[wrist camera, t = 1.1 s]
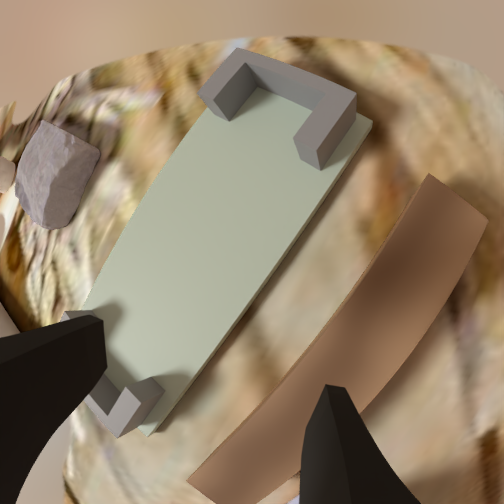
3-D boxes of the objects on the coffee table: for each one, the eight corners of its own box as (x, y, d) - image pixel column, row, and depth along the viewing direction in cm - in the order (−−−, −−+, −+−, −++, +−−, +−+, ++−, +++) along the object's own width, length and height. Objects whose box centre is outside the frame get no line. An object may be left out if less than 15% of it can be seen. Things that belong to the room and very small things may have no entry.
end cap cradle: (371, 128, 18) (376, 95, 14) (153, 432, 20) (124, 451, 16) (247, 71, 21) (230, 40, 18) (74, 342, 23) (41, 346, 20)
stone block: (79, 240, 27) (109, 144, 25) (40, 241, 23) (69, 134, 20) (39, 198, 31) (62, 122, 29) (8, 197, 27) (30, 115, 24)
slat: (456, 236, 16) (488, 220, 11) (257, 478, 18) (235, 517, 13) (409, 200, 17) (428, 173, 13) (216, 448, 19) (186, 480, 14)
